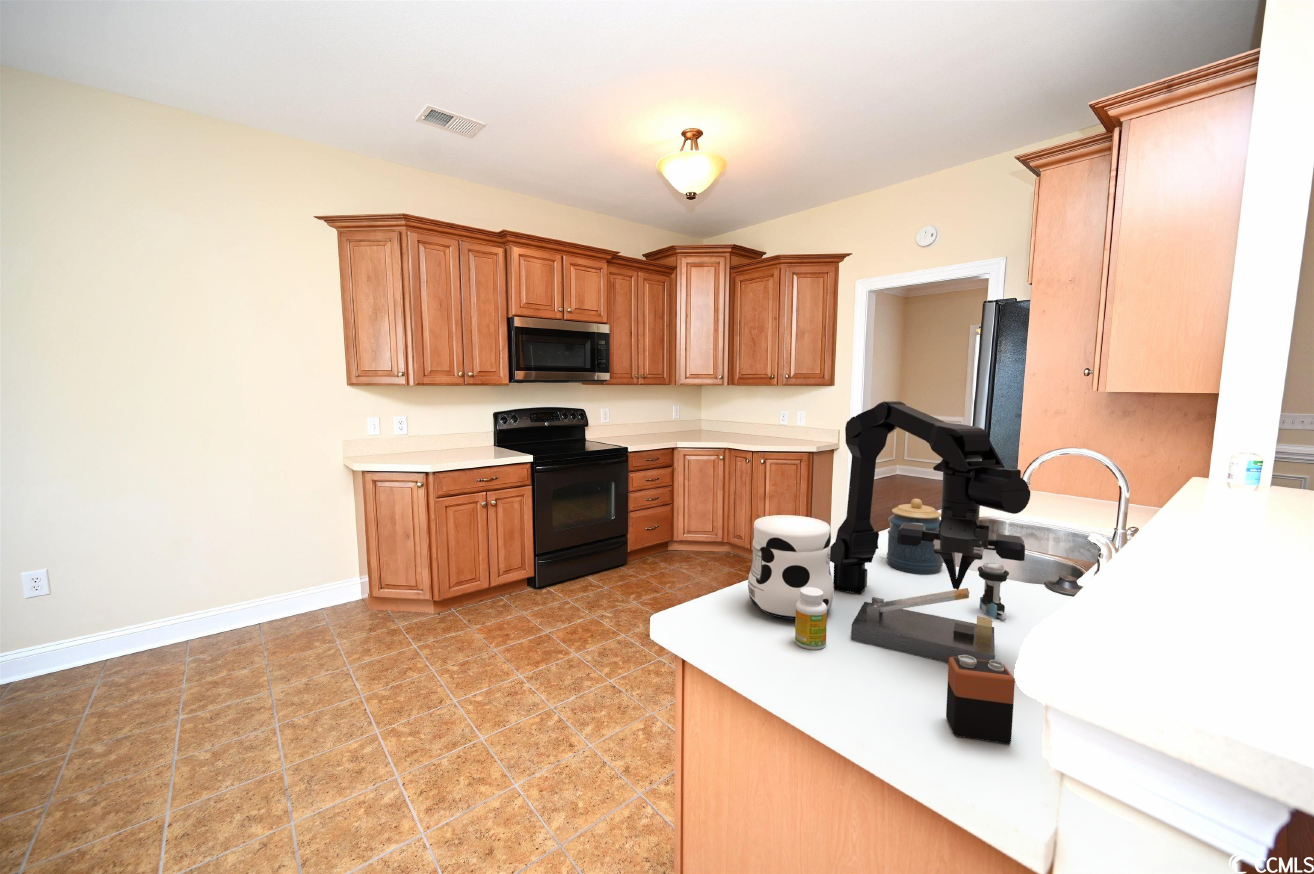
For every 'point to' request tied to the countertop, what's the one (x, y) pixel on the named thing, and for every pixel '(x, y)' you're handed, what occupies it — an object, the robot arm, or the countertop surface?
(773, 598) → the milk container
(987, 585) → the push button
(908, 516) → the canister
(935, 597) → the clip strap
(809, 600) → the supplement bottle
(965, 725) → the battery
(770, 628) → the countertop surface
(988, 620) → the grey lever base
